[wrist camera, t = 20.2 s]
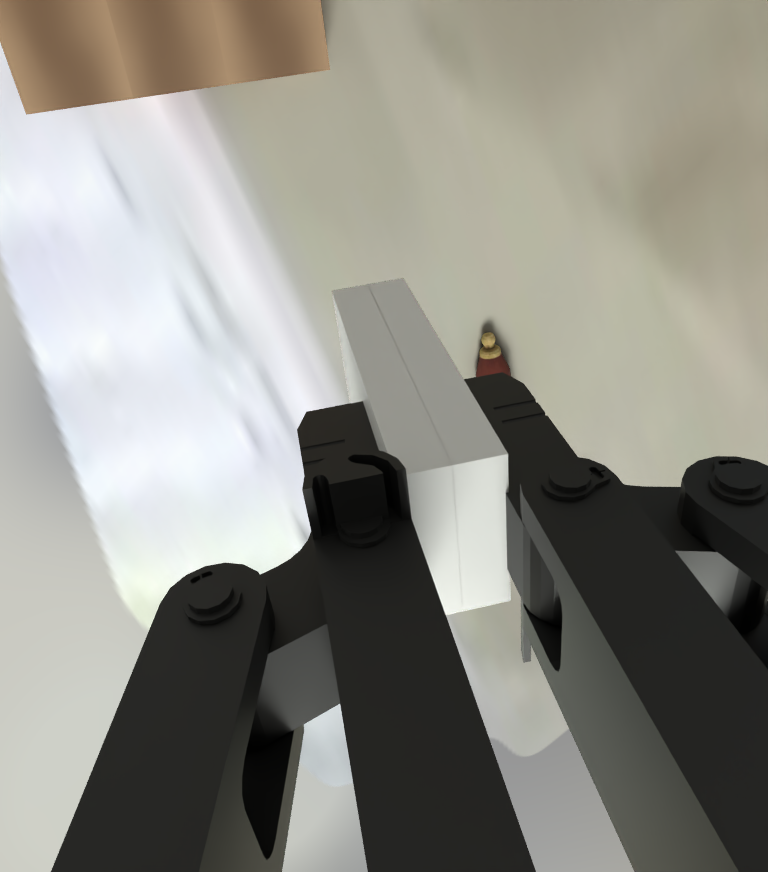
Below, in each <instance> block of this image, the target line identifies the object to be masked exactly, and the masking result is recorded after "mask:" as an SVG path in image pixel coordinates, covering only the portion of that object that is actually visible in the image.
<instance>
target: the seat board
mask: <svg viewBox="0 0 768 872" xmlns="http://www.w3.org/2000/svg"><path fill="white" fill-rule="evenodd" d="M0 42H1V45H2V48H3V51H4V54H5V56H6V59H7V62H8V65H9V68H10V70H11V73H12V76H13V79H14V81H15V84H16V87H17V90H18V93H19V95H20V98H21V101H22V104H23V107H24V109H25V112H26V114H33V113H40V112H46V111H53V110H60V109H67V108H73V107H80V106H87V105H94V104H101V103H107V102H114V101H121V100H128V99H134V98H141V97H148V96H155V95H162V94H168V93H175V92H182V91H189V90H195V89H202V88H209V87H216V86H222V85H229V84H236V83H243V82H250V81H256V80H263V79H270V78H277V77H283V76H290V75H297V74H304V73H311V72H317V71H324V70H330V66H329V59H328V51H327V44H326V37H325V29H324V22H323V15H322V7H321V0H0Z"/></svg>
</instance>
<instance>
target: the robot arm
mask: <svg viewBox="0 0 768 872" xmlns="http://www.w3.org/2000/svg"><path fill="white" fill-rule="evenodd" d="M332 296H333V302H334V308H335V315H336V321H337V327H338V333H339V340H340V346H341V352H342V358H343V365H344V371H345V377H346V383H347V390H348V396H349V402H350V404H345V405H340V406H335V407H329V408H324V409H319V410H314V411H309V412H306V414H305V416H304V418H303V420H302V422H301V424H300V426H299V427H298V429H297V432H298V438H299V444H300V450H301V456H302V462H303V468H304V474H305V477H304V483H303V489H302V490H303V495H304V499H305V504H306V508H307V513H308V518H309V522H310V527H311V533H310V536H309V539H308V541H307V542H306V543H305V545H304V546H303V547H302V549H301V550H300V551H299V552H298V553H297V554H295V555H294V556H293V557H292V558H291V559H289V560H288V561H286V562H284V563H283V564H281V565H279V566H277V567H276V568H273V569H271V570H269V571H267V572H265V573H263V574H261V575H260V574H259V573H258V572H257V571H255V570H253V569H251V568H249V567H247V566H245V565H243V564H233V563H221V564H216V565H210V566H205V567H203V568H201V569H199V570H196V571H194V572H192V573H190V574H188V575H186V576H185V577H183V578H182V579H181V580H180V581H178V582H177V583H176V584H175V585H173V586H172V587H171V588H170V589H169V591H168V592H167V594H166V595H165V597H164V598H163V600H162V602H161V603H160V605H159V608H158V610H157V613H156V615H155V618H154V620H153V622H152V625H151V627H150V630H149V632H148V635H147V637H146V640H145V642H144V645H143V647H142V650H141V652H140V655H139V657H138V659H137V662H136V664H135V667H134V669H133V672H132V674H131V677H130V679H129V681H128V684H127V686H126V689H125V691H124V694H123V696H122V699H121V701H120V704H119V706H118V708H117V711H116V713H115V716H114V719H113V721H112V723H111V726H110V728H109V731H108V733H107V735H106V738H105V740H104V743H103V745H102V748H101V750H100V753H99V755H98V758H97V760H96V763H95V765H94V767H93V770H92V772H91V775H90V777H89V780H88V782H87V785H86V787H85V789H84V792H83V795H82V797H81V799H80V802H79V804H78V807H77V809H76V812H75V814H74V817H73V819H72V822H71V824H70V826H69V829H68V831H67V834H66V837H65V839H64V841H63V844H62V846H61V848H60V851H59V854H58V856H57V858H56V861H55V863H54V866H53V868H52V871H51V872H282V867H283V861H284V855H285V848H286V842H287V836H288V829H289V823H290V817H291V810H292V804H293V797H294V791H295V784H296V778H297V771H298V766H299V759H300V753H301V747H302V740H303V734H304V724H305V723H307V722H308V721H310V720H312V719H314V718H315V717H317V716H319V715H321V714H322V713H324V712H326V711H328V710H329V709H331V708H333V707H335V706H336V705H338V704H340V705H341V711H342V717H343V723H344V729H345V735H346V741H347V747H348V753H349V759H350V765H351V772H352V778H353V784H354V790H355V796H356V802H357V808H358V814H359V820H360V826H361V832H362V838H363V844H364V850H365V856H366V863H367V869H368V872H536V871H535V868H534V865H533V862H532V859H531V856H530V854H529V851H528V848H527V845H526V842H525V839H524V836H523V834H522V831H521V828H520V825H519V822H518V819H517V817H516V814H515V811H514V808H513V805H512V803H511V800H510V797H509V794H508V791H507V788H506V785H505V782H504V780H503V777H502V774H501V771H500V768H499V765H498V763H497V760H496V757H495V754H494V751H493V748H492V745H491V743H490V740H489V737H488V734H487V731H486V728H485V726H484V723H483V720H482V717H481V714H480V711H479V709H478V706H477V703H476V700H475V697H474V694H473V691H472V689H471V686H470V683H469V680H468V677H467V674H466V672H465V669H464V666H463V663H462V660H461V657H460V655H459V652H458V649H457V646H456V643H455V640H454V637H453V635H452V632H451V629H450V626H449V623H448V620H447V618H446V615H449V614H453V613H458V612H462V611H466V610H471V609H475V608H480V607H484V606H489V605H493V604H498V603H502V602H507V601H511V590H510V576H511V578H512V580H513V582H514V584H515V586H516V588H517V590H518V592H519V594H520V596H521V651H522V657H523V662H524V663H525V662H529V661H531V646H532V648H533V650H534V652H535V654H536V657H537V659H538V661H539V663H540V665H541V668H542V670H543V672H544V674H545V676H546V678H547V681H548V683H549V685H550V687H551V689H552V692H553V694H554V696H555V698H556V700H557V703H558V705H559V707H560V709H561V711H562V714H563V716H564V718H565V720H566V722H567V725H568V727H569V729H570V731H571V733H572V735H573V738H574V740H575V742H576V744H577V746H578V748H579V751H580V753H581V755H582V757H583V760H584V762H585V764H586V766H587V768H588V770H589V773H590V775H591V777H592V779H593V781H594V784H595V785H596V788H597V790H598V792H599V795H600V797H601V799H602V801H603V803H604V805H605V808H606V810H607V812H608V814H609V817H610V819H611V821H612V823H613V825H614V827H615V829H616V832H617V834H618V836H619V838H620V841H621V843H622V845H623V847H624V849H625V852H626V854H627V856H628V858H629V860H630V863H631V865H632V867H633V869H634V871H635V872H768V466H767V465H765V464H762V463H760V462H758V461H754V460H750V459H745V458H740V457H726V456H716V457H711V458H707V459H703V460H699V461H697V462H696V463H694V464H693V465H691V466H690V467H688V468H687V469H686V471H685V474H684V476H683V478H682V483H681V487H642V486H630V485H624V484H623V483H622V482H621V481H620V480H619V478H618V477H617V476H616V475H615V474H614V473H613V472H612V471H610V470H609V469H608V468H607V467H606V466H605V465H602V464H600V463H597V462H595V461H592V460H590V459H586V458H579V457H577V455H576V454H575V453H574V451H573V450H572V449H571V447H570V446H569V444H568V443H567V442H566V440H565V439H564V438H563V436H562V435H561V434H560V432H559V431H558V430H557V428H556V427H555V425H554V424H553V423H552V421H551V420H550V419H549V417H548V416H545V412H544V410H543V409H542V408H541V406H540V405H539V404H538V402H537V403H536V401H535V398H534V397H533V396H532V394H531V393H530V391H529V390H528V389H527V387H526V386H525V385H524V384H523V383H522V382H520V381H518V380H516V379H514V378H512V377H511V376H509V375H507V374H505V373H503V372H500V373H495V374H490V375H485V376H480V377H474V378H469V379H463V377H462V376H461V374H460V372H459V371H458V369H457V367H456V366H455V364H454V362H453V361H452V359H451V357H450V356H449V354H448V352H447V351H446V349H445V347H444V345H443V344H442V342H441V340H440V339H439V337H438V335H437V334H436V332H435V330H434V329H433V327H432V325H431V324H430V322H429V320H428V319H427V317H426V315H425V314H424V312H423V310H422V309H421V307H420V305H419V303H418V302H417V300H416V298H415V297H414V295H413V293H412V292H411V290H410V288H409V287H408V285H407V283H406V282H405V280H404V278H401V279H395V280H389V281H384V282H378V283H372V284H367V285H361V286H355V287H350V288H344V289H338V290H333V291H332Z"/></svg>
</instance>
